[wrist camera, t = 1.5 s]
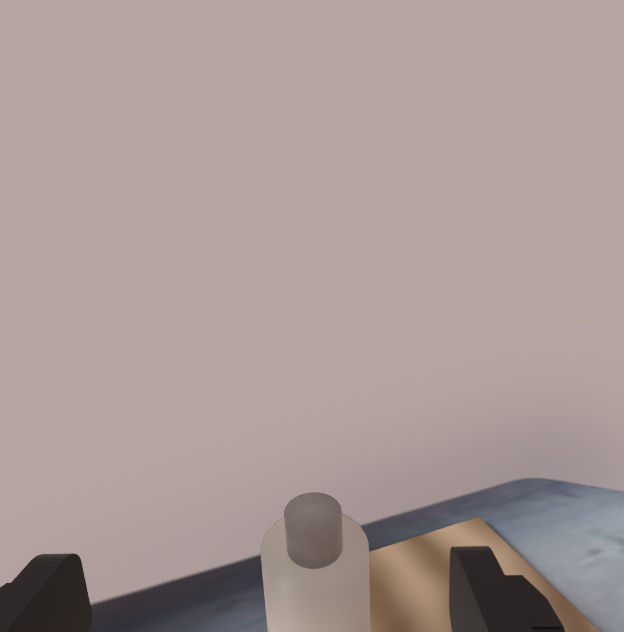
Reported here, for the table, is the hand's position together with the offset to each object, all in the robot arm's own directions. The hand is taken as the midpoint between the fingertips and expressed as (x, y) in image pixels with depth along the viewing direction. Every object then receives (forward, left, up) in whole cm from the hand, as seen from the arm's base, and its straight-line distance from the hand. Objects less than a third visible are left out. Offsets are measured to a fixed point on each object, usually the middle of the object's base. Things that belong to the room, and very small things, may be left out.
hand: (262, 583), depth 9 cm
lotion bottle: (-3, +10, -22) cm, 25 cm away
